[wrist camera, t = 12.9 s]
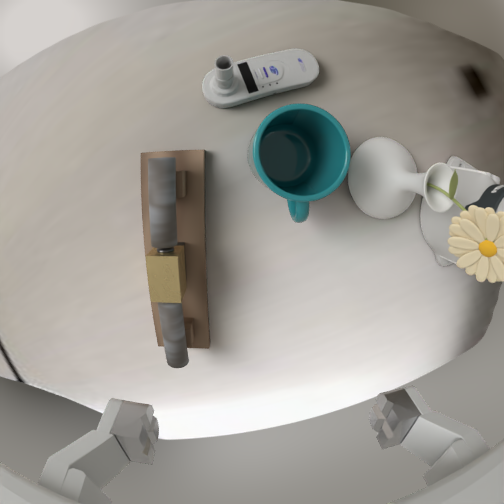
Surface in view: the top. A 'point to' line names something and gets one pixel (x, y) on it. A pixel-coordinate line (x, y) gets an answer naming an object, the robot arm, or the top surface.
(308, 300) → the top surface
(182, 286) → the block
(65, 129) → the top surface
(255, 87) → the electronic device
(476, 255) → the flower in vase
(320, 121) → the cup
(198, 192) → the shaft bench
